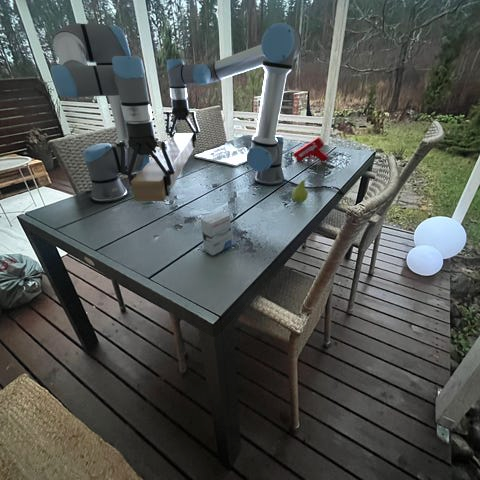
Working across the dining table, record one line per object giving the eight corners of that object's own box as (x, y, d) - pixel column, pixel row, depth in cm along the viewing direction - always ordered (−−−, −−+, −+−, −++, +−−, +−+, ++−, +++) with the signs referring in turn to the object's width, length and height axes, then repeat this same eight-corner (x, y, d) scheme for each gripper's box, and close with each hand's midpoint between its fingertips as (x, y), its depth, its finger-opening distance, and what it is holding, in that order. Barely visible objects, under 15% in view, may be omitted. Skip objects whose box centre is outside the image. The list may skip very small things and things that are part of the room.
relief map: (235, 166, 165) (235, 158, 162) (194, 157, 182) (193, 149, 179) (260, 156, 183) (260, 148, 180) (220, 148, 201) (220, 141, 198)
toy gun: (332, 156, 168) (319, 135, 164) (331, 158, 165) (319, 137, 161) (306, 172, 178) (294, 152, 174) (305, 174, 175) (293, 154, 171)
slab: (177, 146, 144) (176, 133, 140) (195, 146, 143) (193, 133, 140) (135, 201, 86) (130, 181, 83) (164, 201, 86) (160, 181, 83)
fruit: (288, 200, 123) (290, 174, 116) (302, 197, 125) (305, 172, 119) (296, 206, 118) (299, 179, 111) (310, 203, 120) (314, 177, 114)
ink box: (222, 240, 95) (220, 209, 89) (232, 245, 92) (231, 214, 86) (203, 250, 90) (200, 218, 84) (212, 256, 87) (210, 224, 81)
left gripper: (94, 124, 74) (115, 199, 86) (175, 123, 74) (184, 198, 86) (105, 119, 80) (123, 190, 93) (180, 118, 80) (188, 189, 93)
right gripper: (153, 99, 124) (161, 149, 137) (201, 99, 124) (205, 149, 136) (158, 97, 131) (165, 145, 143) (203, 97, 130) (207, 145, 142)
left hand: (153, 194), depth 89 cm, fingers closed on slab, 9 cm apart
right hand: (184, 147), depth 139 cm, fingers closed on slab, 9 cm apart
